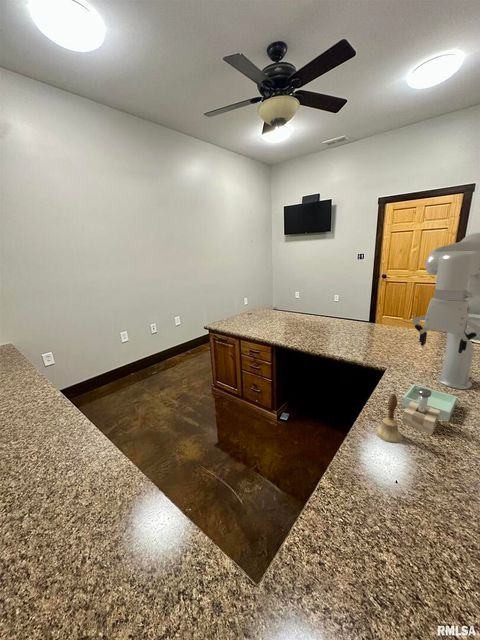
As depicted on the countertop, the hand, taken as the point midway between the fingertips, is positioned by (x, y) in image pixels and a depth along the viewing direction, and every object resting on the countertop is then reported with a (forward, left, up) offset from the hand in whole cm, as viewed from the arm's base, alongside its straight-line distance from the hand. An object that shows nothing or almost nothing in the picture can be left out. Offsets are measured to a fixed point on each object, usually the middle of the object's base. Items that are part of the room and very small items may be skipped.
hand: (440, 348), depth 82 cm
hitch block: (-3, -3, -31) cm, 31 cm away
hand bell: (+11, -9, -32) cm, 35 cm away
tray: (-17, -3, -31) cm, 36 cm away
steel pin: (-3, -3, -31) cm, 31 cm away
